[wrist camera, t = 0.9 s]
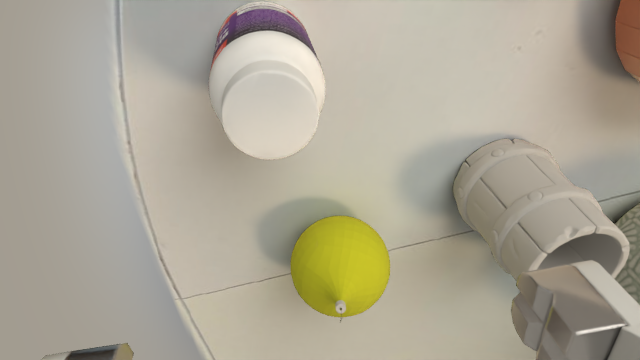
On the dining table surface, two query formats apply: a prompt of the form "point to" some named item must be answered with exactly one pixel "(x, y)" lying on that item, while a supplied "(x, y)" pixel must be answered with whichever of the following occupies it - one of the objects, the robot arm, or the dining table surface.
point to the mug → (534, 211)
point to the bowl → (629, 36)
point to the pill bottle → (266, 81)
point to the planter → (631, 253)
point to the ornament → (340, 266)
